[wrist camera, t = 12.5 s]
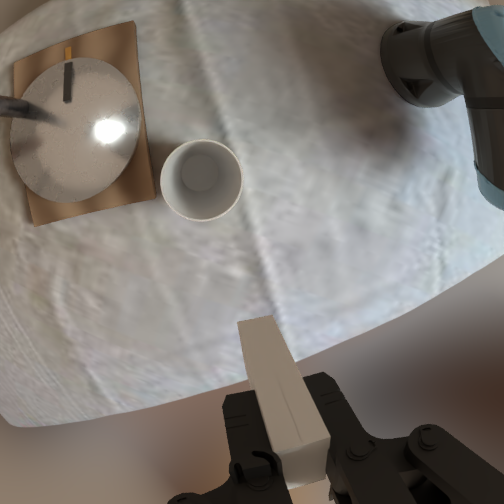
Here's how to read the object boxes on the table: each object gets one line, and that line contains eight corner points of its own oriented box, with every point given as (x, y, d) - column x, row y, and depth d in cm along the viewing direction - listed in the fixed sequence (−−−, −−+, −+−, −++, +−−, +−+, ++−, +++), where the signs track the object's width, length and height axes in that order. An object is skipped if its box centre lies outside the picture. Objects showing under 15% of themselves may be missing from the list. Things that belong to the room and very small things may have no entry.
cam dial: (168, 90, 32) (151, 52, 17) (104, 222, 36) (55, 270, 21) (53, 46, 27) (-9, 7, 12) (0, 170, 30) (-76, 190, 15)
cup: (156, 182, 38) (144, 194, 29) (191, 129, 36) (190, 123, 27) (208, 215, 41) (213, 236, 31) (243, 163, 39) (259, 169, 30)
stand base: (135, 25, 30) (133, 19, 28) (156, 196, 38) (154, 198, 36) (20, 65, 28) (13, 62, 26) (40, 223, 36) (33, 227, 34)
